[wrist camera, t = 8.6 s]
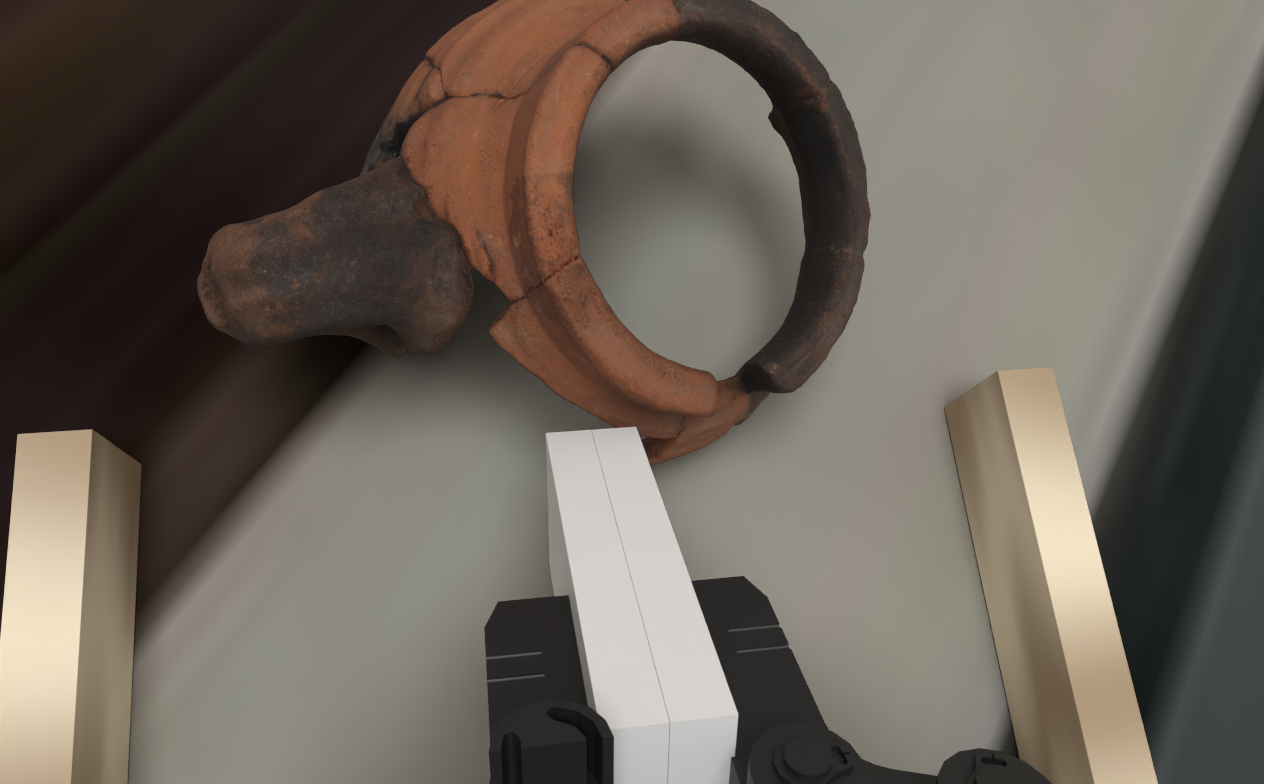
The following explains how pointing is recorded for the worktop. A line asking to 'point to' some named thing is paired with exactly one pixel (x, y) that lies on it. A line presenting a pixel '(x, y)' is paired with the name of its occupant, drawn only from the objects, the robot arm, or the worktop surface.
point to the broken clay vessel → (544, 216)
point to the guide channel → (996, 508)
